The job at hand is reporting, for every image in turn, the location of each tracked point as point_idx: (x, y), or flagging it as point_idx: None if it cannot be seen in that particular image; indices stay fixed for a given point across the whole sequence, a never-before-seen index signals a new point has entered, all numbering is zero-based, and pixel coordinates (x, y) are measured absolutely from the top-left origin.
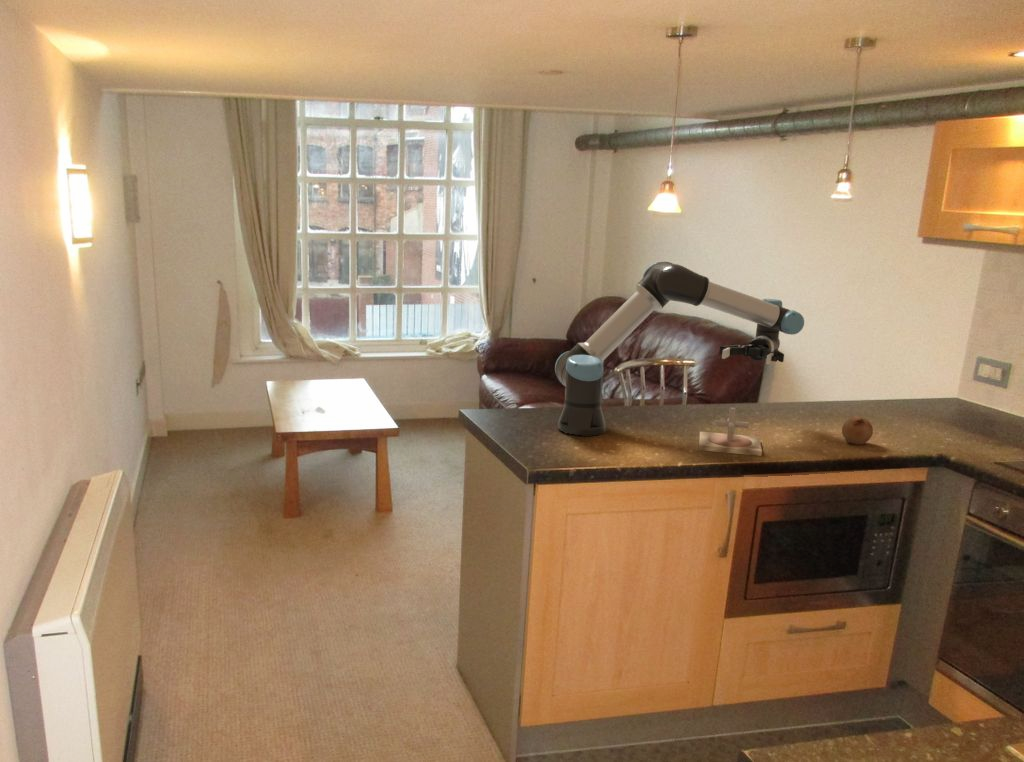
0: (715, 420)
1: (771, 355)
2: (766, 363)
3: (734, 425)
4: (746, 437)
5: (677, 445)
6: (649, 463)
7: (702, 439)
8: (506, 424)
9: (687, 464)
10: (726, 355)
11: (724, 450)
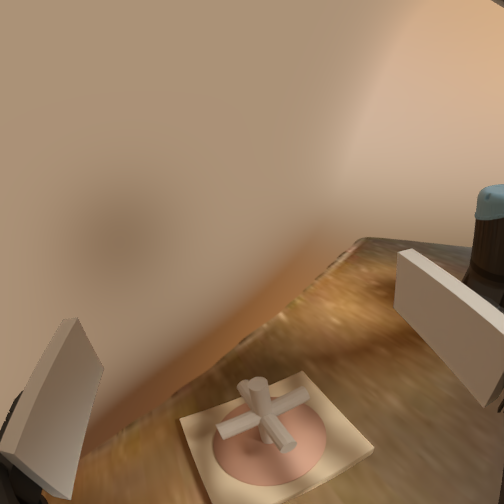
0: (300, 386)
1: (37, 378)
2: (99, 364)
3: (242, 392)
4: (248, 494)
5: (349, 369)
6: (311, 295)
7: (323, 403)
8: None
9: (271, 320)
10: (428, 325)
11: None
